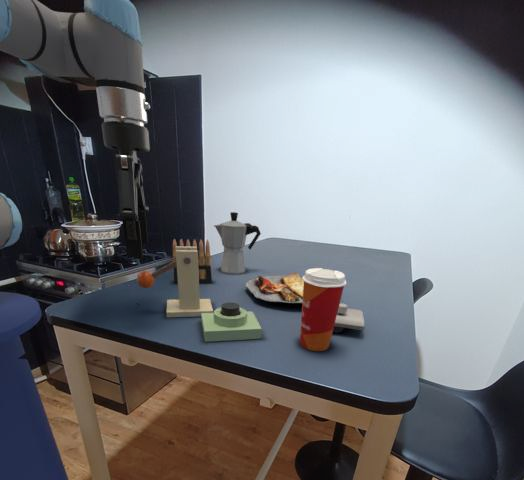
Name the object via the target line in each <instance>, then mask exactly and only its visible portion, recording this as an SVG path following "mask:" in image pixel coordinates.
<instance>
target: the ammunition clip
mask: <svg viewBox="0 0 524 480" xmlns="http://www.w3.org/2000/svg"><path fill="white" fill-rule="evenodd" d="M198 243H199V244H198V245H197V241H196V239H193V241H192V247H197V248H198V271H199V284H212V283H213V278H212V277H213V276H212V256H211V248H210V247H211V246H210V242H209V239H206V241H205V247H204V242H203V240H202V239H199V242H198ZM184 245H185V244H184V241H183V239H182V238H181V239H180V240H179V246H184ZM176 246H178V245H177V241H176V238H174V239H173V240H172V262H173V261H175V260H176ZM185 246H191V242H190V239H186V245H185ZM204 248H205V250H204ZM173 284H177V285H178V277H177V266H176V267H174V268H173Z"/></svg>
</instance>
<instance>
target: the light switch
mask: <svg viewBox="0 0 524 480" xmlns="http://www.w3.org/2000/svg"><path fill="white" fill-rule="evenodd" d="M365 326H366V325H365V319H364V312H363V310H361V309H356V308H349V307H348V305H347V304H345V303H341V302H340V304H339V308H338V312H337V316H336V320H335V324H334V328H333V333H340V332H343V331H344V329H352V330H358V331H359V330H360V331H364V330H365Z"/></svg>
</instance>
